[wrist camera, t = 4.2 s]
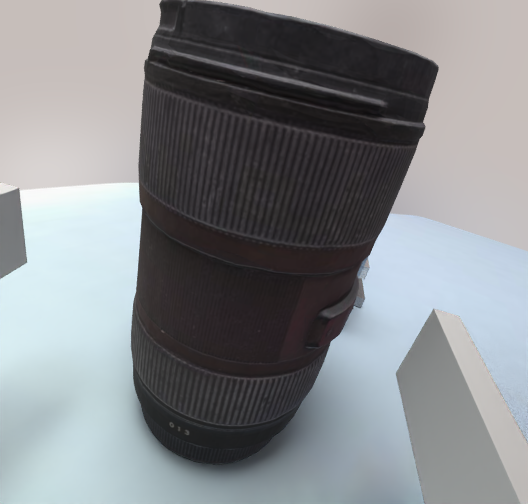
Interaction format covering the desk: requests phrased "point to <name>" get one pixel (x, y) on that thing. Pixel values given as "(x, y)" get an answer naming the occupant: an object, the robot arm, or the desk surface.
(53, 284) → the desk surface
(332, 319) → the camera lens
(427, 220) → the desk surface
